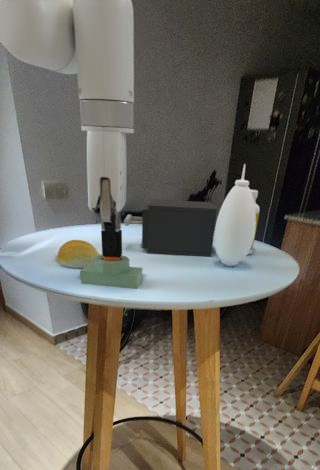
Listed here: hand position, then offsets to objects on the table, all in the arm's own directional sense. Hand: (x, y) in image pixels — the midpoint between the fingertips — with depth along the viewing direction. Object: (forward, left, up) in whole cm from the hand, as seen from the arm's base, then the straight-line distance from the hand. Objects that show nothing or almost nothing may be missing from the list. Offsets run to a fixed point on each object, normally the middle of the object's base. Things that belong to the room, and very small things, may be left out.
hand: (112, 255), depth 63 cm
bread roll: (-10, +10, -5) cm, 15 cm away
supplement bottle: (+23, +30, -5) cm, 38 cm away
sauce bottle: (+21, +18, -5) cm, 28 cm away
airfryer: (+9, +28, -5) cm, 30 cm away
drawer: (+5, +28, -4) cm, 28 cm away
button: (0, 0, -2) cm, 2 cm away
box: (0, 0, -5) cm, 5 cm away
